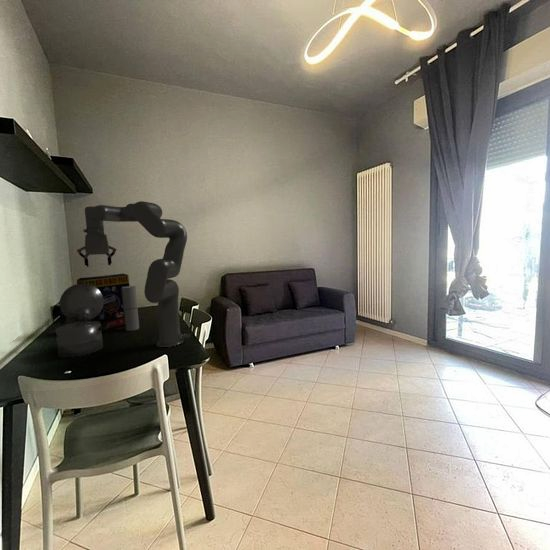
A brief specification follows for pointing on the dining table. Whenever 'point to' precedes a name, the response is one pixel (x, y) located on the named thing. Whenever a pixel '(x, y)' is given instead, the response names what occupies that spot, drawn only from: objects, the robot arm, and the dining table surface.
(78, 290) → the cooker lid
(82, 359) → the dining table surface
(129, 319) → the cylindrical container
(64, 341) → the cooker pot
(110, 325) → the cereal box
